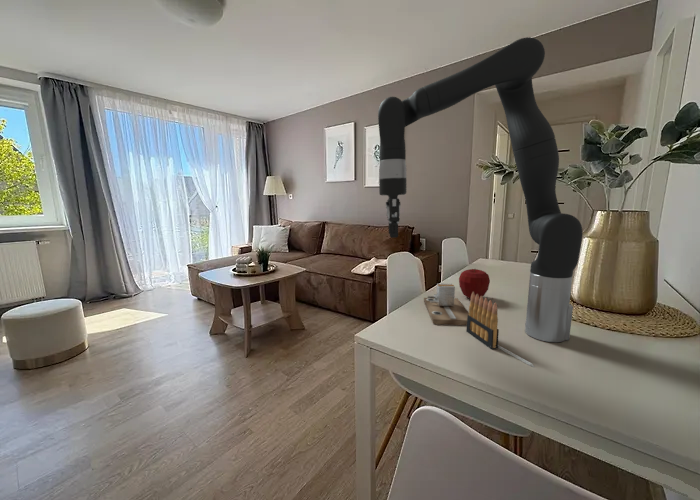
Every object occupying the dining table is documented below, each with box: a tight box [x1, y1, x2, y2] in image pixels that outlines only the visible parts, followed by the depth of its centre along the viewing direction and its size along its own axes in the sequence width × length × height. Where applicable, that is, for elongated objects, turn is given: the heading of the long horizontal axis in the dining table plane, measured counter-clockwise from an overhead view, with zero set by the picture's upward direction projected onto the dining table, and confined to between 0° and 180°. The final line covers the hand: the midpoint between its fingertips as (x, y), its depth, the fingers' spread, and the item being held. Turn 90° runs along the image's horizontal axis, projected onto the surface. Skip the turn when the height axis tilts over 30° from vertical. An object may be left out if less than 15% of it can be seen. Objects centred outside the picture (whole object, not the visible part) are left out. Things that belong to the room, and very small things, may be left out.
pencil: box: [497, 344, 535, 368], centre depth 71 cm, size 1×1×15 cm
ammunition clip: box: [465, 292, 500, 350], centre depth 77 cm, size 11×2×12 cm, turn 12°
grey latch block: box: [430, 283, 456, 306], centre depth 98 cm, size 8×4×7 cm, turn 84°
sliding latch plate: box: [423, 293, 469, 326], centre depth 96 cm, size 12×20×3 cm, turn 174°
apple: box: [458, 268, 491, 300], centre depth 109 cm, size 11×11×12 cm
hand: (393, 235), depth 83 cm, fingers open, 8 cm apart
